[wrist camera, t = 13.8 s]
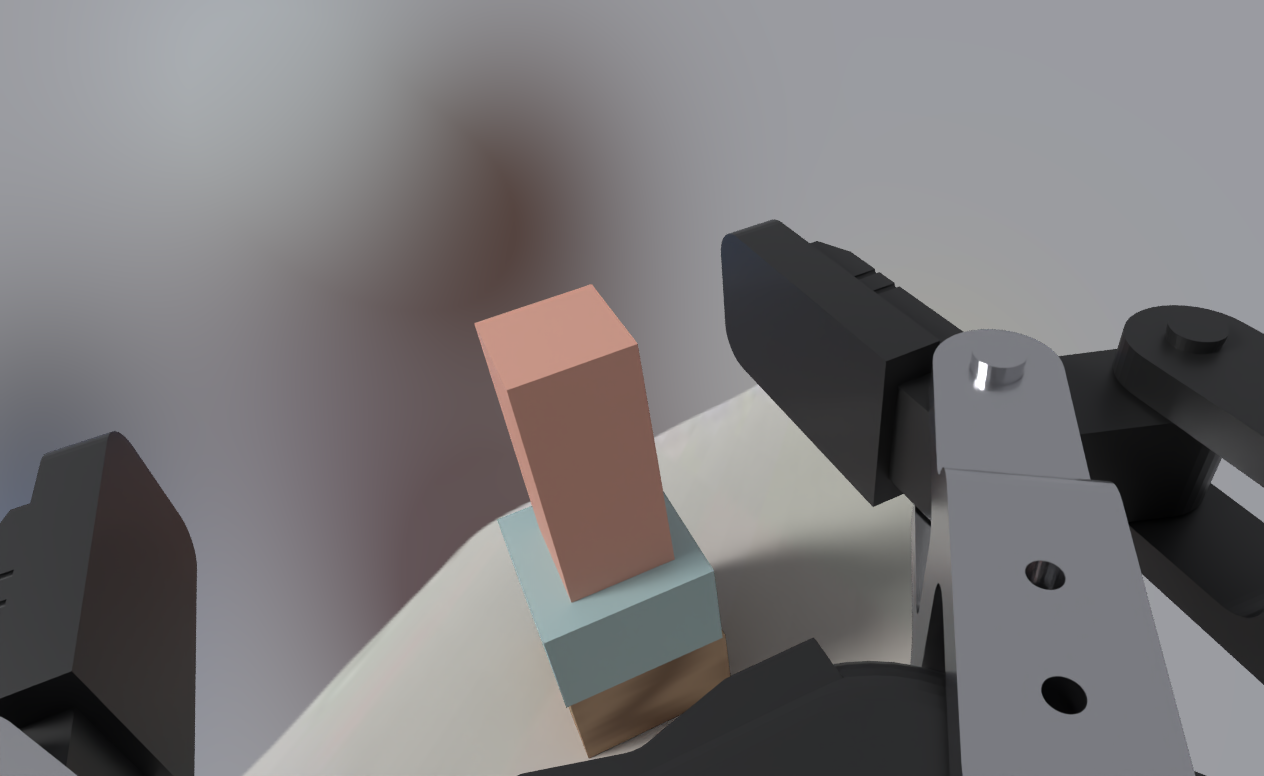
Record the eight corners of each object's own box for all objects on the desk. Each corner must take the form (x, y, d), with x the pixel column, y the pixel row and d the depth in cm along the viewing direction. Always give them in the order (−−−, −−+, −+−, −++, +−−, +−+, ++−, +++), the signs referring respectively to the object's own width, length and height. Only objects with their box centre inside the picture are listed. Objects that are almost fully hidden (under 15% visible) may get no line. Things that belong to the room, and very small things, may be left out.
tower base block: (589, 759, 41) (570, 705, 38) (541, 637, 47) (521, 582, 44) (732, 691, 43) (725, 634, 40) (668, 582, 49) (657, 525, 46)
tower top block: (566, 707, 38) (543, 643, 35) (520, 583, 44) (497, 519, 41) (722, 637, 39) (713, 570, 36) (656, 527, 45) (644, 462, 42)
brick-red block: (571, 602, 36) (506, 390, 29) (539, 527, 40) (474, 323, 33) (674, 559, 37) (637, 344, 30) (633, 490, 41) (591, 284, 34)
